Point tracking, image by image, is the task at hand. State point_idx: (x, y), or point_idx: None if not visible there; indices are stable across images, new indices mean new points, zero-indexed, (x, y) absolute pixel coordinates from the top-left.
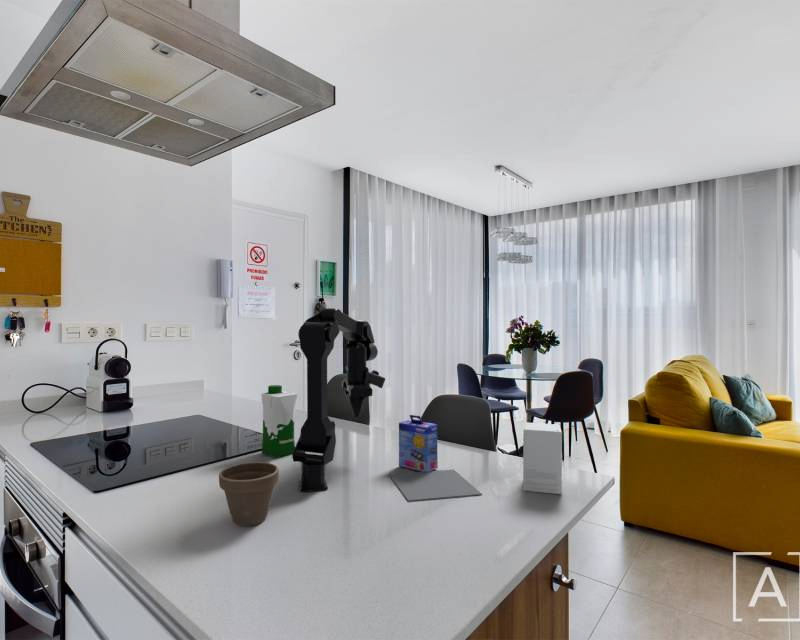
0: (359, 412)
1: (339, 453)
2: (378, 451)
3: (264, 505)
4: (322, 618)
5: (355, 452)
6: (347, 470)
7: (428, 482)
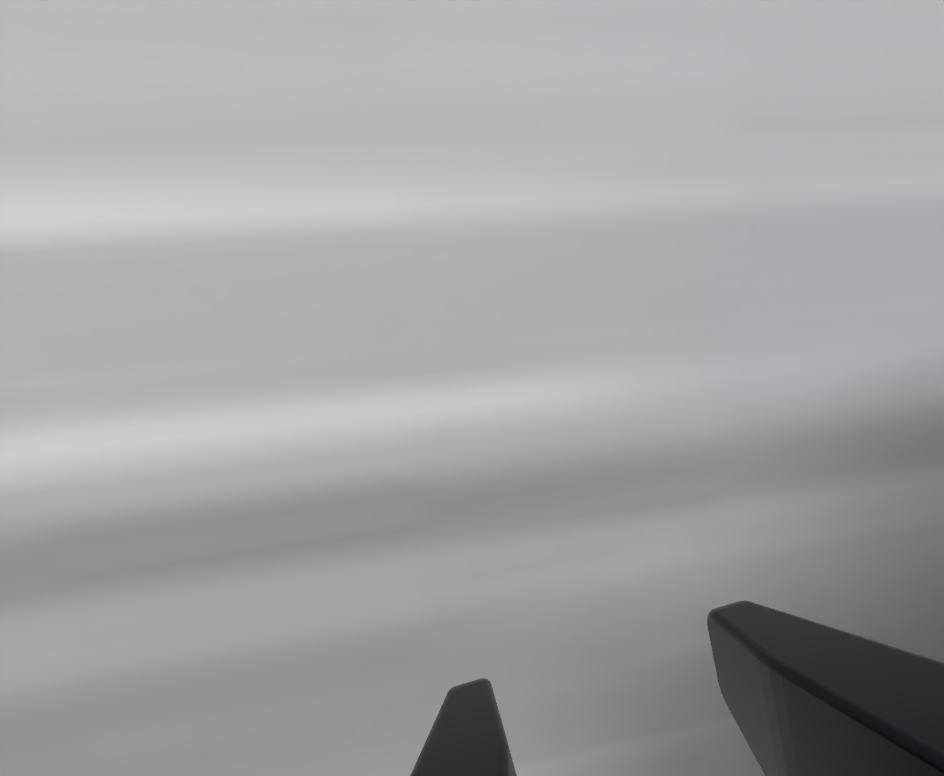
0: (857, 636)
1: (329, 600)
2: (186, 96)
3: None
4: None
5: (268, 415)
6: (935, 425)
7: None
